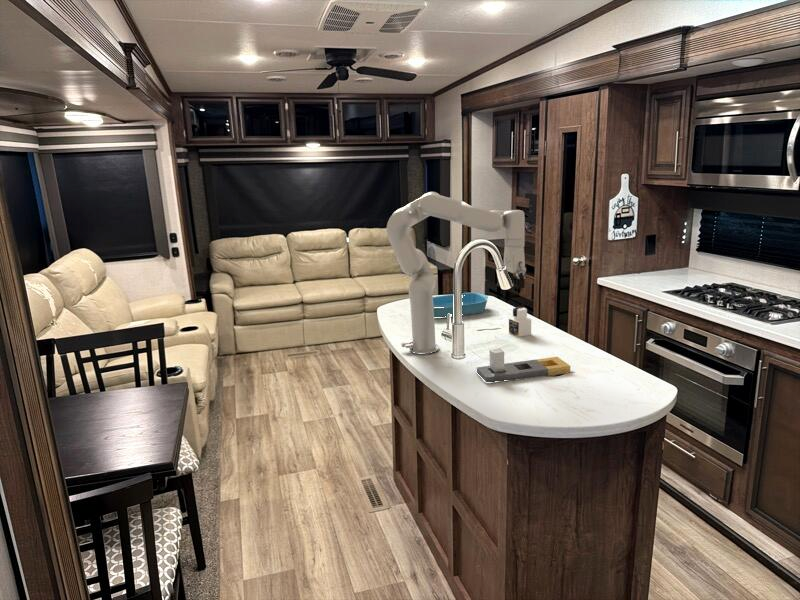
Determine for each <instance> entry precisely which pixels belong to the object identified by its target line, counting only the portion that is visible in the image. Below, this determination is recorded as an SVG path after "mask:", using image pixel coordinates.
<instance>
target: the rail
mask: <svg viewBox="0 0 800 600" xmlns="http://www.w3.org/2000/svg"><path fill="white" fill-rule="evenodd" d="M567 372H569V373H571V365H570V364H569V363H567V362H566V361H564V360H563V359H561V358H560V357H559V356H553V357H545V358H537V359H530V360H523V361H516V362H508V363H504V372H502V373H495V374H493V373H492V372H491V371H490V365H486V366H478V367H476V374H477V373H478V374H479V375H480V376H481V377H482V378H483V379H484V380H485V381H486V382H495V381H504V380H512V381H517V380H516V379H520V380H526V379H525V378H527V379H532V378H540V377H547V376H554V375H555V376H556V375H562V374H567ZM478 374H477V375H478Z"/></svg>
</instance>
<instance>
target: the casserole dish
mask: <svg viewBox="0 0 800 600" xmlns="http://www.w3.org/2000/svg"><path fill="white" fill-rule="evenodd" d="M461 293H462V292H461ZM462 295H463V298H462V302H463V305H462V314H463V315H465V316H468V315H467V314H471V315H476V314H475V313H477V314H480V312H481V313H482V312H484V311H485V308H486V306H487V303H488V299H489V296H488V295H486V294H483V293H478V292H463V293H462ZM464 295H465V296H464ZM433 305H434V307H444V308H434V317H445V316H446V317H447V314H448V313H450V314H452V317H451V318H454V317H453V293H452V294H446V295H437V296H436V295H435V296H433Z"/></svg>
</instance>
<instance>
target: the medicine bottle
mask: <svg viewBox="0 0 800 600" xmlns="http://www.w3.org/2000/svg"><path fill="white" fill-rule="evenodd" d="M508 334H510V335H513V336H514V337H517V338H521V337H525V336H526V337H527V336H529V335H530V336H531V335H532V319H531V318H530V317H528V309H527V308H526V307H524V306H516V307H514V308H512V317H509V318H508Z"/></svg>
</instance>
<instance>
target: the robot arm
mask: <svg viewBox="0 0 800 600" xmlns="http://www.w3.org/2000/svg"><path fill="white" fill-rule="evenodd" d="M430 216H431V217H434V218H438V219H443V220H447V221H451V222H454V223H457V224H460V225H464V226H466V227H470V228H472V229H476V230H479V231H484V232H488V233H496V232H499V231H500V230H502V229H504V250H503V265H505V266H506V269H507V272H508V274H509V276H510V278H511V280H512V283H511V284H513V283H514V274H515V276H516V279H515V287H516V288H515V289H516V290H518V289H519V290H521V289H524V288H525V278H526V272H527V267H526V262H525V244H526V243H525V240H526V239H525V235H526V234H525V232H526V231H525V230H526V229H525V221H526V219H525V212H524V211H523V210H520V209H509V210H499V209H493V210H492V209H491V210H485V209H481V208H478V207H474V206H472V205H470V204H468V203H467V202H466V201H464V200H461V199H457V198H452V197H448V196H444V195H441V194H439V193H438V192H436V191H428V192H427V193H426V192H425V193H424V194H423V195H422V196H420V197H419V198H417V199H415V200H413V201H412V202H410V203H408V204H406V205H405V206H403V207H400V208H397V210H395V211H394V212H393V213H392V215H390V217H389V219H388V221H387V224H386V235H387V236H386V237H387V239H388V241H389V244H390V245H391V247H392V250H393V253H394V255H395V257H396V259H397V263H398V264H399V267H400V269H401V271H402V272H403V274H405V275H407V276H410V278H411V282H410V283H409V287H408V297H409V302H410V303H409V304H410V317H411V335H412V338H411V339H410V340H409V341H407V342H401V348H406V349H410V350H409V352H410V351H412V352H415V353H431V352H435V351H437V350H438V351H439V350H440V346H439V344H437V343H436V327H435V325H436V323H435V318H434V305H433V297H434V295H433V292H434V290H435V288H436V285H437V280H436V277H435V275H434V273H433V270H432V268H431V265H430V263H429V261H428V258H427V255H425V253H424V252H423V251H422V250H421V249H419V248H416V246H415V244H414V242H413V240H412V237H411V236H410V234H409V229H410V228H412V227H413V226H414V225H416V224H419V222H422V221H423V220H425V219H427V218H428V217H430ZM438 351H437V352H438ZM412 352H411V353H412ZM435 353H436V352H435Z"/></svg>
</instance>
